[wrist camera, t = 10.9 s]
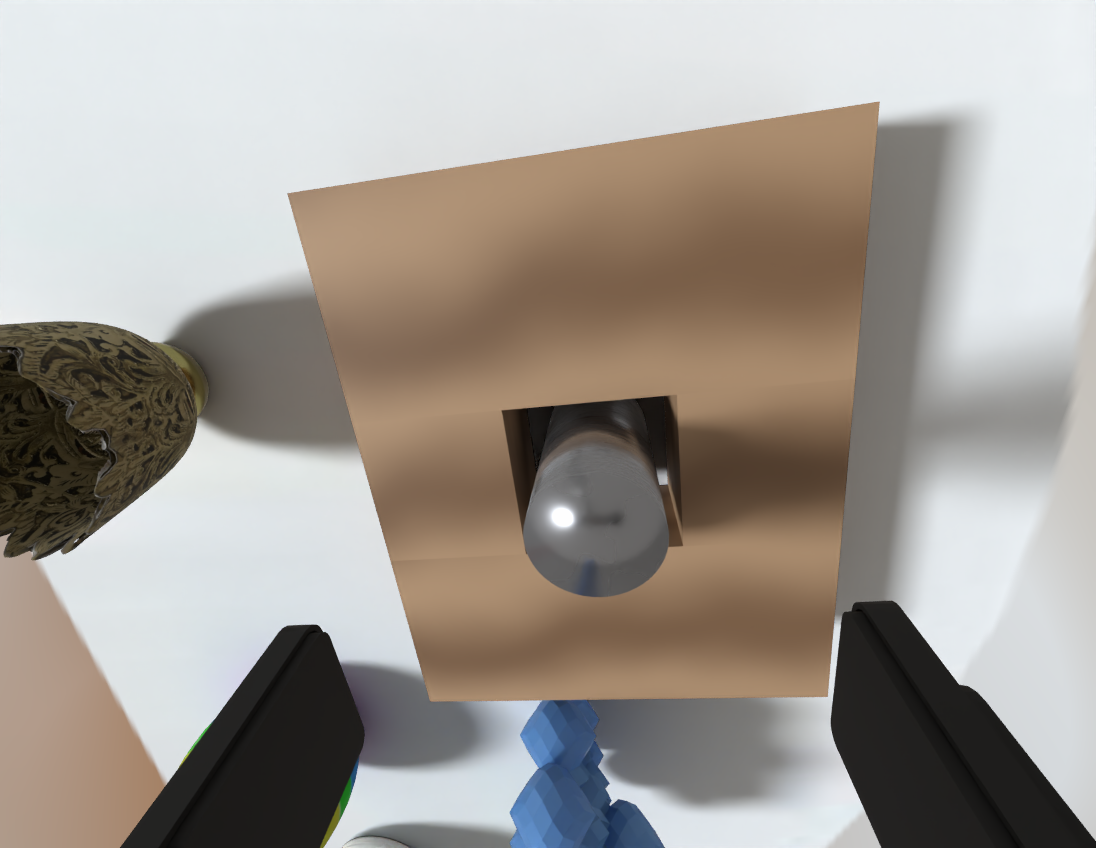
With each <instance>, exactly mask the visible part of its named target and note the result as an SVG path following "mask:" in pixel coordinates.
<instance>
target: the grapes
mask: <svg viewBox="0 0 1096 848" xmlns="http://www.w3.org/2000/svg"><path fill="white" fill-rule="evenodd" d="M598 721H599V718H598V717H597V715H596V713H595V712H594V710H593V708H592V707H591V705H590V704H589V702H588V701H587V700H542V702H541V703H540V704H539V706H538V707H537V709H536V711H535V712H534V713H533V715H532V716H531V717H530V719H529V720H528V722H527V724H526V725H525V727H524V729H523V731H522V733H521V734H520V736H521V738H522V740H523V742H524V744H525V746H526V748H527V750H528V752H529V754H530V755H531V757H532V758H533V760H534V762H535V763H536V764H537V766H538V767H539V769H537V771H536V772H535V773H534V775H533V776H532V777H531V778H530V780H529V781H528V783H527V784H526V786H525V787H524V789H523V790H522V792H521V793H520V795H519V796H518V798H517V800H516V802H515V804H514V805H513V807H512V809H511V811H510V815H511V817H512V819H513V821H514V824H515V826H516V828H517V830H516V832H515V834H514V836H513V838H512V840H511V841H510V846H511V848H665V847H664V845H663V844H662V842H661V840H660V839H659V837H658V835H657V834H656V832H655V830H654V829H653V828H652V826H651V825H650V823H649V822H648V821H647V819H646V818H645V816H644V815H643V814H642V813H641V811H640V810H639V809H638V807H637V806H636V805H634V804H632V803H630V802H628V801H624V800H619V799H618V800H617V801H616V802H615V803H613V804H612V805H611V806H610V805H609V804H610V802H611V799H610V797H609V794H608V793H607V791H606V789H605V788H606V787H607V786H608V785H609V784H610V783H609V782H608V781H607V779H606V778H605V776H604V775H603V773H602V772H601V771H600V769H599V768H598V765H599V763H600V761H601V760H602V758H603V754H602V752H601V751H600V749H599V747H598V745H597V744H596V742H595V741H594V739H595V737H596V735H595V733H594V731H593V730H594V729H595V727H596V725H597V723H598Z"/></svg>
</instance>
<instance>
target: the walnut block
mask: <svg viewBox="0 0 1096 848" xmlns="http://www.w3.org/2000/svg"><path fill="white" fill-rule="evenodd" d="M878 114H879V102H874V103H868V104H861V105H855V106H848V107H842V108H835V109H829V110H822V111H816V112H810V113H803V114H797V115H790V116H784V117H777V118H771V119H764V120H758V121H752V122H745V123H739V124H732V125H726V126H719V127H713V128H706V129H700V130H694V131H687V132H681V133H674V134H668V135H661V136H655V137H648V138H642V139H636V140H629V141H623V142H616V143H610V144H603V145H597V146H590V147H584V148H578V149H571V150H565V151H558V152H552V153H545V154H539V155H532V156H526V157H520V158H513V159H507V160H500V161H494V162H487V163H481V164H474V165H468V166H462V167H455V168H449V169H442V170H436V171H429V172H423V173H416V174H410V175H404V176H397V177H391V178H384V179H378V180H371V181H365V182H358V183H352V184H346V185H339V186H333V187H326V188H320V189H313V190H307V191H300V192H294V193H288V197H289V201H290V204H291V208H292V212H293V215H294V219H295V222H296V226H297V229H298V233H299V236H300V240H301V244H302V247H303V251H304V254H305V258H306V261H307V265H308V268H309V272H310V276H311V279H312V283H313V286H314V290H315V293H316V297H317V301H318V304H319V308H320V311H321V315H322V318H323V322H324V325H325V329H326V333H327V336H328V340H329V343H330V347H331V350H332V354H333V358H334V361H335V365H336V368H337V372H338V375H339V379H340V382H341V386H342V390H343V393H344V397H345V400H346V404H347V407H348V411H349V414H350V418H351V422H352V425H353V429H354V432H355V436H356V439H357V443H358V447H359V450H360V454H361V457H362V461H363V464H364V468H365V471H366V475H367V479H368V482H369V486H370V489H371V493H372V496H373V500H374V503H375V507H376V511H377V514H378V518H379V521H380V525H381V528H382V532H383V536H384V539H385V543H386V546H387V550H388V553H389V557H390V560H391V564H392V568H393V571H394V575H395V578H396V582H397V585H398V589H399V592H400V596H401V600H402V603H403V607H404V610H405V614H406V617H407V621H408V625H409V628H410V632H411V635H412V639H413V642H414V646H415V649H416V653H417V657H418V660H419V664H420V667H421V671H422V674H423V678H424V681H425V685H426V689H427V692H428V696H429V699H430V702H437V701H519V700H601V699H684V698H766V697H828V686H829V674H830V663H831V651H832V640H833V629H834V617H835V606H836V594H837V583H838V571H839V560H840V548H841V537H842V526H843V514H844V503H845V491H846V480H847V468H848V457H849V445H850V434H851V423H852V411H853V400H854V388H855V377H856V365H857V354H858V342H859V331H860V320H861V308H862V297H863V285H864V274H865V262H866V251H867V239H868V228H869V217H870V205H871V194H872V182H873V171H874V159H875V148H876V136H877V125H878ZM656 396H663V397H664V417H665V437H666V457H667V477H668V485H660V486H659V487H660V491H661V496H662V501H663V505H664V510H665V515H666V519H667V524H668V530H669V545H668V550H667V553H666V556H665V559H664V561H663V563H662V565H661V566H660V568H659V569H658V570H657V572H656V573H655V574H654V575H653V576H652V577H651V578H650V579H649V580H648V581H646V582H645V583H644V584H642V585H641V586H639V587H637V588H635V589H633V590H631V591H629V592H626V593H623V594H620V595H615V596H609V597H588V596H582V595H577V594H573V593H571V592H568V591H565V590H563V589H561V588H559V587H557V586H555V585H554V584H552V583H551V582H549V581H548V580H547V579H545V578H544V577H543V576H542V575H541V574H540V573H539V572H538V571H537V569H536V568H535V567H534V565H533V564H532V562H531V560H530V559H529V557H528V554H527V552H526V549H525V545H524V538H523V529H524V523H525V518H526V514H527V510H528V506H529V502H530V498H531V494H532V490H533V486H534V482H535V478H536V474H537V473H536V467H535V460H534V454H533V447H532V440H531V434H530V427H529V420H528V414H527V408H533V407H544V406H555V405H566V404H578V403H589V402H600V401H611V400H623V399H634V398H645V397H656Z"/></svg>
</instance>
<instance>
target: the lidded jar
mask: <svg viewBox="0 0 1096 848" xmlns="http://www.w3.org/2000/svg"><path fill="white" fill-rule="evenodd" d="M342 848H410V847H408V846H406V845H404V844H402V843H400V842H398V841H395V840H392V839H388V838H384V837H376V836H365V837H359V838H355V839H353V840H351V841H349V842H347V843H346V844H345V845H344V846H343V847H342Z"/></svg>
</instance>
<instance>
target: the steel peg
mask: <svg viewBox="0 0 1096 848" xmlns="http://www.w3.org/2000/svg"><path fill="white" fill-rule="evenodd" d="M523 538H524V545H525V549H526V552H527V554H528V557H529V559H530V560H531V562H532V564H533V565H534V567H535V568H536V569H537V571H538V572H539V573H540V574H541V575H542V576H543V577H544V578H545V579H547V580H548V581H549V582H551V583H552V584H554V585H555V586H557V587H559V588H561V589H563V590H565V591H568V592H571V593H573V594H577V595H582V596H588V597H609V596H615V595H620V594H623V593H626V592H629V591H631V590H633V589H635V588H637V587H639V586H641V585H642V584H644V583H645V582H646V581H648V580H649V579H650V578H651V577H652V576H653V575H654V574H655V573H656V572H657V570H658V569H659V568H660V566H661V565H662V563H663V561H664V559H665V556H666V553H667V550H668V545H669V530H668V524H667V519H666V515H665V510H664V505H663V501H662V496H661V491H660V487H659V482H658V477H657V473H656V468H655V464H654V459H653V454H652V450H651V445H650V440H649V436H648V431H647V427H646V422H645V418H644V414H643V412H642V409H641V407H640V406H639V404H638V403H637V401H636V400H635V399H623V400H611V401H600V402H589V403H578V404H566V405H556V406H555V408H554V410H553V412H552V415H551V419H550V423H549V427H548V431H547V435H546V438H545V442H544V446H543V450H542V454H541V458H540V462H539V466H538V470H537V474H536V478H535V482H534V486H533V490H532V494H531V498H530V502H529V506H528V510H527V514H526V518H525V523H524V529H523Z"/></svg>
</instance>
